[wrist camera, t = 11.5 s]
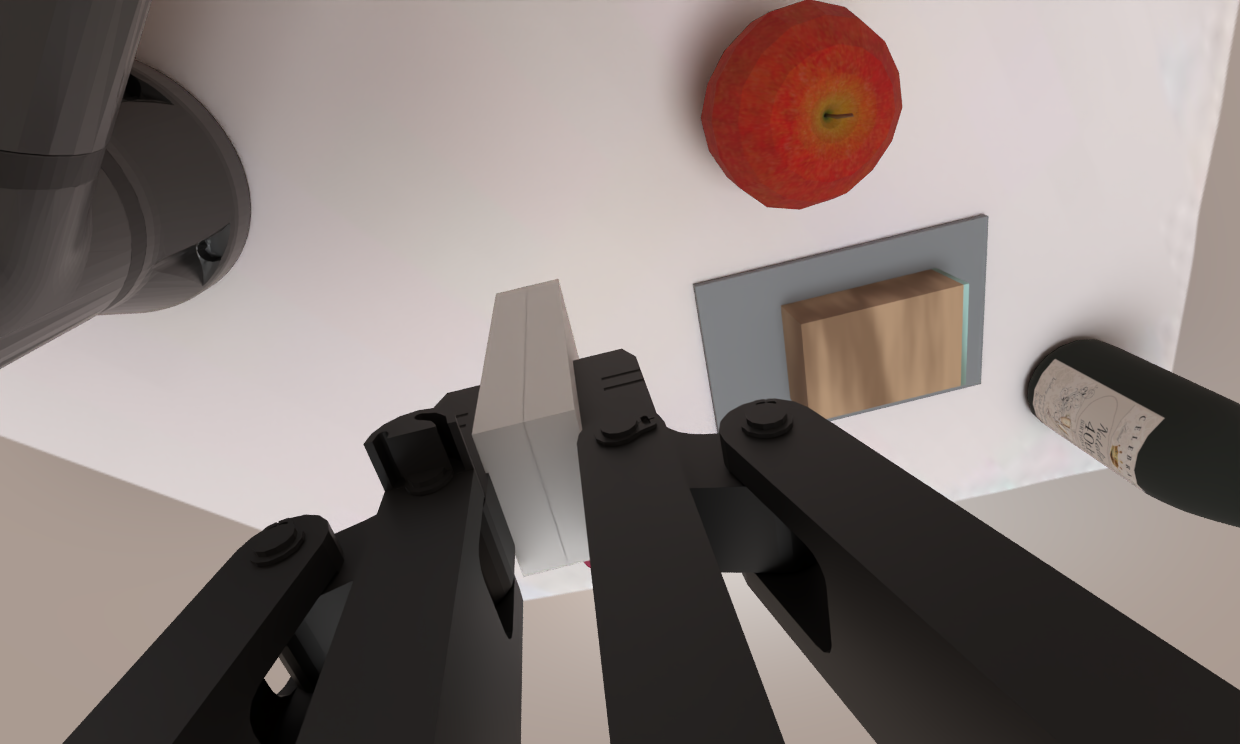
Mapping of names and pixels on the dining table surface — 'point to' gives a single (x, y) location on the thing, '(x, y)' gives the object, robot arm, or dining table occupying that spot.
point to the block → (877, 343)
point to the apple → (802, 105)
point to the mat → (751, 301)
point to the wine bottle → (1144, 425)
